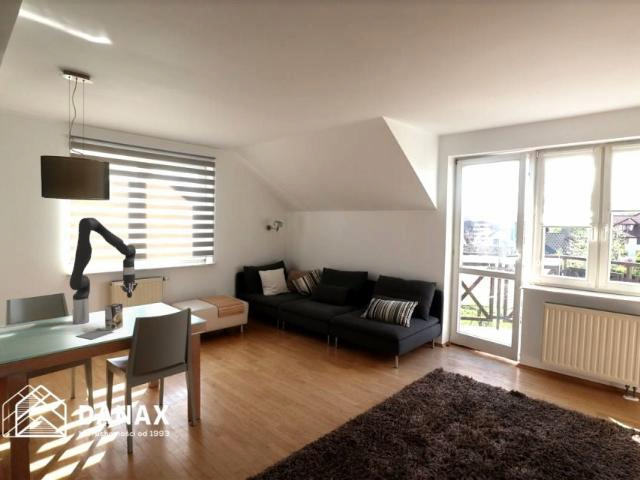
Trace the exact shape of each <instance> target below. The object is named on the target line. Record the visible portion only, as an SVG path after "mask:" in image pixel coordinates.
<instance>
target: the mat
mask: <svg viewBox="0 0 640 480" xmlns="http://www.w3.org/2000/svg"><path fill="white" fill-rule="evenodd" d="M114 332H115V331H111V330H105V329H101V328H98V329H94V330H91V331H87V332H85V333H82V334H78V335H76V337H77V338H81V339H85V340H91V341H92V340H95V339H100V338H101V337H104V336H107V335H111V334H113V333H114Z"/></svg>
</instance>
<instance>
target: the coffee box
mask: <svg viewBox="0 0 640 480" xmlns="http://www.w3.org/2000/svg"><path fill="white" fill-rule="evenodd" d="M123 309H124V308H123V303H112V304H109V305H105V306H104V321H105V322H104V324H105V325H104V330H107V331H112V332H114V331H115V330H118V329H120V328H122V327H124V323H123V322H124V319H123V317H124V315H123Z"/></svg>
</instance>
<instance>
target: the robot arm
mask: <svg viewBox="0 0 640 480" xmlns="http://www.w3.org/2000/svg"><path fill="white" fill-rule="evenodd" d="M91 232H95V233H97V234H99V235H100V236H101V237H102V238H103V239H104V240H105V242H106V243H107V244H109V245H110V246H112V247H113V248H115V249H116V250H117V251H118V252H119V253H120V254H121V255H123V256H124V259H123V261H122V280H123V284H122V285H120V288H121V290H122V291H123V292H124V293H126V296H127V297H126V298H127V299H130V298H132V297H133V292H134V291H135V290H136V288H137V286H138V285H139V283H138V282H136V281H135V280H136V269H135V259H136V253H137V250H136V249H137V248H136V247H135V246H134V245H132V244H125V243H124V240H123V239H122V238H120V237H119V236H118V235H116V234H114V233H113V232H111V231H110V230H109V229H108V228H107V227H105V226H104V225H103V223H101V222H100V221H99V220H98V219H96V218H94V217H83V218H81V219H80V220H79V222H78V234H77V235H78V236H77V237H78V238H77V243H76V244H77V245H76V250H75V255H74V256H75V258H74V263H73V268H72V271H71V276H70V279H69V287H70V289H71V290H72V291H76V292H74V294H73V295H72V311H71V312H72V323H73V324H74V325H82V324H87V323H89V322H90V303H89V302H90V301H89V298H90V297H89V296H90V291H91V281H90V278H89V277H88V276H87V275H84V271H85V270H86V267H87V266H88V264H89V262H91V258H92V253H93V252H92V251H93V248H92V243H91V239H90V238H91Z"/></svg>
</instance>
